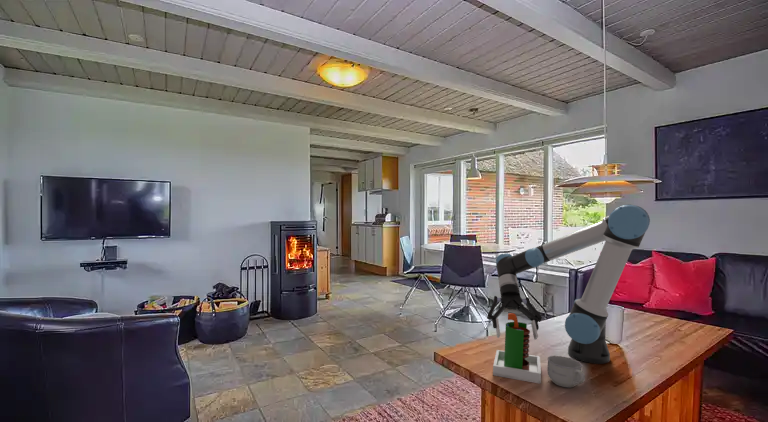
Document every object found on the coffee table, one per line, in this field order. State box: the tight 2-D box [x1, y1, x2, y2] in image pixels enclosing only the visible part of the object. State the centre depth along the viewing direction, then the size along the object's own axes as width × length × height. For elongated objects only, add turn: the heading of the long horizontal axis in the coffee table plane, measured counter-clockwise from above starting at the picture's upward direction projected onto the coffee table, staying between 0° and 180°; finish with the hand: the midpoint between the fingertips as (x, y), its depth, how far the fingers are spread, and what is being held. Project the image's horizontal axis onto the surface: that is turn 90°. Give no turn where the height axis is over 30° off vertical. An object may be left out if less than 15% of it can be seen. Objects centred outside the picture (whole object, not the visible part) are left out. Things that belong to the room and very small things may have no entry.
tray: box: [492, 349, 542, 384], centre depth 140 cm, size 16×16×4 cm
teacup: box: [546, 355, 586, 388], centre depth 128 cm, size 14×11×8 cm
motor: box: [504, 312, 531, 371], centre depth 140 cm, size 10×9×20 cm
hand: (517, 337), depth 139 cm, fingers open, 13 cm apart
